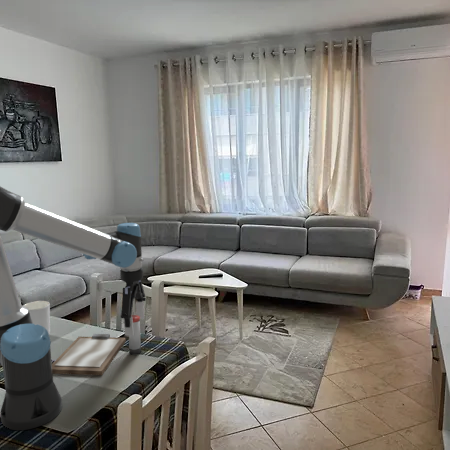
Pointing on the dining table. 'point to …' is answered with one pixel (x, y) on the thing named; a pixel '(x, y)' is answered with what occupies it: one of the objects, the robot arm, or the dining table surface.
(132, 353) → the marker
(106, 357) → the clipboard
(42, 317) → the candle holder
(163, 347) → the dining table surface
